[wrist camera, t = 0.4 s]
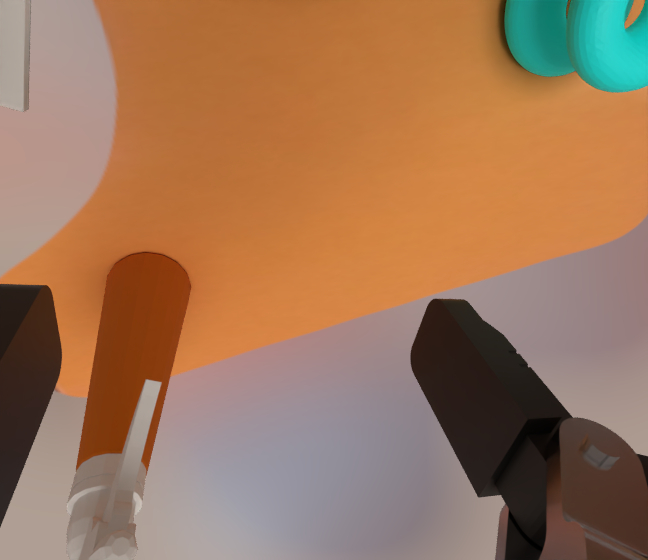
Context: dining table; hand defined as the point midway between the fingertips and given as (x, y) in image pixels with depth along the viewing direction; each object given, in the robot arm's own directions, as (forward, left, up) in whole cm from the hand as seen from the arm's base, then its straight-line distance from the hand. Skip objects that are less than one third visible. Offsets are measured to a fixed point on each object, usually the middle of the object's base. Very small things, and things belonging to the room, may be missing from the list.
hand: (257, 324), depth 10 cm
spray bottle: (+16, -2, -28) cm, 32 cm away
